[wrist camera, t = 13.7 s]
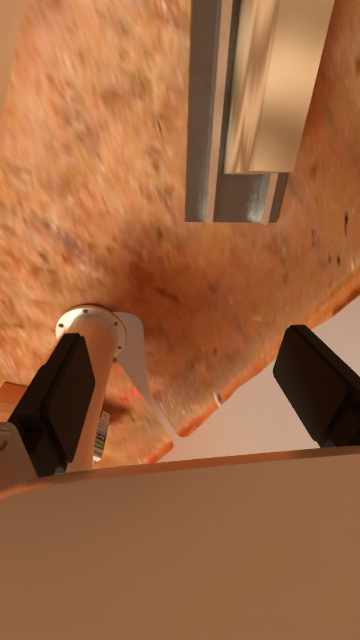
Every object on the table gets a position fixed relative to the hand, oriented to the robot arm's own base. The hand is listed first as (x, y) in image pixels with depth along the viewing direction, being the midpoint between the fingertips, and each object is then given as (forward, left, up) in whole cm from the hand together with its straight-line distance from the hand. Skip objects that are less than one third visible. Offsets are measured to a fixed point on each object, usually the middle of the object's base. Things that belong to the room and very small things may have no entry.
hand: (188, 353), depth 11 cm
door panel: (+16, -10, -27) cm, 33 cm away
